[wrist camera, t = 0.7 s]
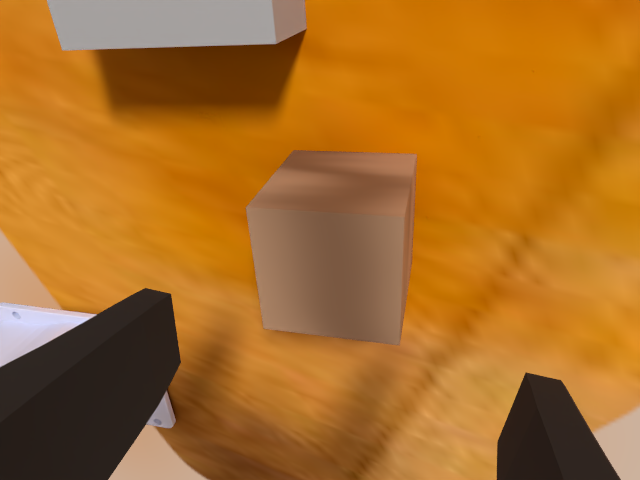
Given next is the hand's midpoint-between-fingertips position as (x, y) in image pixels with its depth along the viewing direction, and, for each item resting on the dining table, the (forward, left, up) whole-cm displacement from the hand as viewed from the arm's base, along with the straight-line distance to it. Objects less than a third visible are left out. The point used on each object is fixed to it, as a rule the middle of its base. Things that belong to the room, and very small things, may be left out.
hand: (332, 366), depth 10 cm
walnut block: (-1, -1, -10) cm, 10 cm away
